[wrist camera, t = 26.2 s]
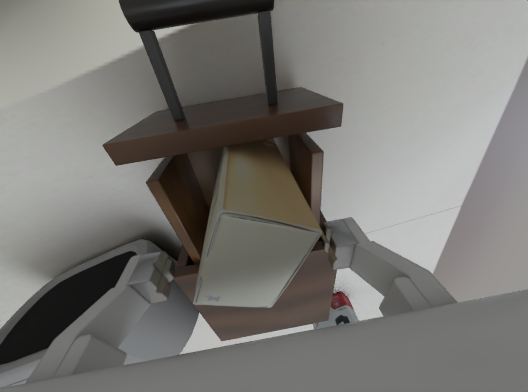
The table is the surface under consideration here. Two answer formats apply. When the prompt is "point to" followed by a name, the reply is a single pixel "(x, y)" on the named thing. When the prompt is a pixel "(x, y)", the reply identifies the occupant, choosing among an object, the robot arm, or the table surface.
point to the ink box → (338, 312)
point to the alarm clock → (80, 300)
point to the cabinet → (284, 309)
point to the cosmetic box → (254, 229)
